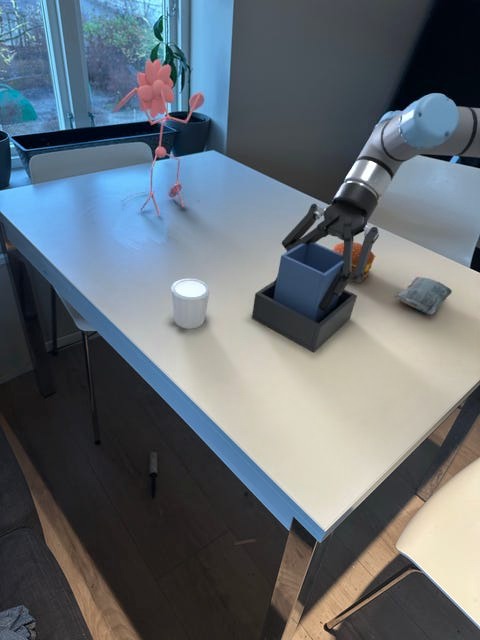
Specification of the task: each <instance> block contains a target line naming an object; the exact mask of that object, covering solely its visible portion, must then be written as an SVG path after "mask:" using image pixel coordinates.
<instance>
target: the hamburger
mask: <svg viewBox="0 0 480 640" xmlns="http://www.w3.org/2000/svg"><path fill="white" fill-rule="evenodd" d="M361 248H362V244H361V243H359V242H355V241H353V251H352V272H354V270H355V267H356V264H357V261H358V257H359V254H360V251H361ZM332 250H333V251H335V252H337V253H340V254H342V255H343V250H344V242H340V243H338V244H336V245H335V246H334V247H333V249H332ZM376 257H377V256H376V255H375V254H374V252H372V251H371V252H370V255H369V258H368V262H367V265H366V268H365V271H364V275H363V278H362V281H364V280H366V279H367V278H368V277H369V274H370V269H371V268H372V264H373V262H374V260H375V258H376Z"/></svg>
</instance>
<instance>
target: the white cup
mask: <svg viewBox="0 0 480 640" xmlns="http://www.w3.org/2000/svg"><path fill="white" fill-rule="evenodd" d="M170 290H171V300H172V308H173V320H174V323H175V324H176V325H177V326H179V327H180V328H182V329H187V330H189V329H190V330H191V329H197V328H199V327H201V326H203V325H204V323H205V319H206V313H207V308H208V302H209V298H210V292H211V290H210V286H209V285H208V284H207V283H206V282H204V281H202V280H200V279H196V278H182V279H179V280H177V281H175V282H173V284H172V285H171V287H170Z"/></svg>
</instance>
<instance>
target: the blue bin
mask: <svg viewBox="0 0 480 640" xmlns="http://www.w3.org/2000/svg"><path fill="white" fill-rule="evenodd" d="M343 264H344V261H343V255H342V254H340V253H337V252H335V251H333V249H330V248H328V247H326V246H323V245H321V244H320V243H319V244H318V243H317V242H315V243H314V242H310V243H309V245H307V243H305V244H300V245H298V246H297V247H295V248H293V249H291V250H290V251H288V252H287V251H286V252H285V253H283V254H281V256H280V260H279V264H278V265H279V266H278V272H277V276H276V278H277V282H276V287H275V293H274V299H273V300H275V301H277V302H279V303H281V304H283V305H284V306H286V307H288V308H290V309H292V310H294V311H296V312H298V313H300V314H302V315H304V316H306V317H308V318H310V319H311V320H313V321H315V322H317V323H318V322H319V321H320V320H321V319H322V318H324V317H325V316H326V315H327V314H328V313H330V312H331V311H332V310H333V309H334V308H335V307H336V305H337V302H338V298H339V297H338V296H336V295H335V296H334V297H333V299H332V301H331V303H330V304H329V306H328V308H327V309H326V311H323V310H321V308H320V307H319V304H320V302H321V301H322V299H323V297H324V295H325V294H326V292H327V290H328V289H329V287H330V285H331V283H332V282H333V280H334V278H335V277H336V275H337V274H339V275H341V276H342V269H343Z"/></svg>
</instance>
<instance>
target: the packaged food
mask: <svg viewBox="0 0 480 640" xmlns="http://www.w3.org/2000/svg"><path fill="white" fill-rule="evenodd" d="M452 291H453V290H452V289H451V288H450V287H448V286H446V285H444V284H443V283H442V282H440V281H437V280H436V279H435V280H434V279H432V278H429V277H428V278H426V277H423V276H413V277H412V282H411V283H410V284H409V285H408V286H407V287H406V288H404V289H403V290H402V291H400V292H398V293H397V294H393V297H394V298H395V299H398V300H399V301H400V302H402V303H404V304H406V305H408V306H410V307H411V308H413V309H416V310H418V311H420V312H422V313H424V314H425V315H429V316H433V315H434V314H435V313H436V311H437V310H438V309H439V308H440V306H441V305H442V303H443V302H444V301H445V300H447V298H448V297H449V296H450V295H451V294H452Z"/></svg>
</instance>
